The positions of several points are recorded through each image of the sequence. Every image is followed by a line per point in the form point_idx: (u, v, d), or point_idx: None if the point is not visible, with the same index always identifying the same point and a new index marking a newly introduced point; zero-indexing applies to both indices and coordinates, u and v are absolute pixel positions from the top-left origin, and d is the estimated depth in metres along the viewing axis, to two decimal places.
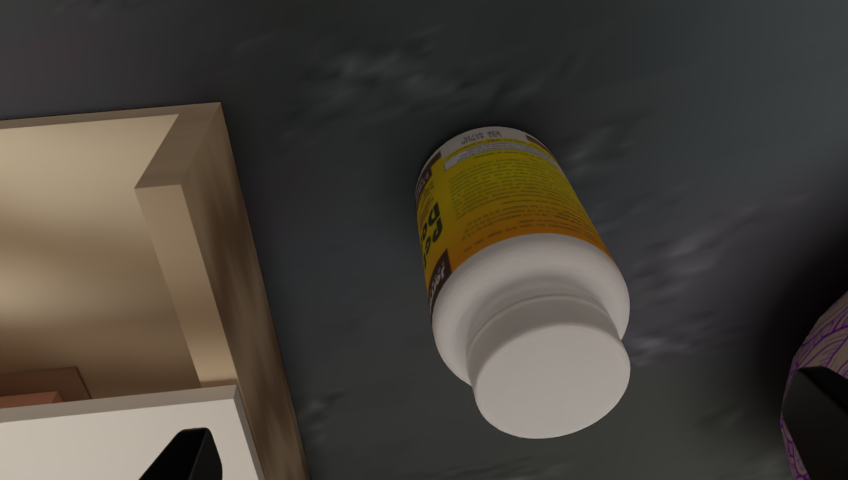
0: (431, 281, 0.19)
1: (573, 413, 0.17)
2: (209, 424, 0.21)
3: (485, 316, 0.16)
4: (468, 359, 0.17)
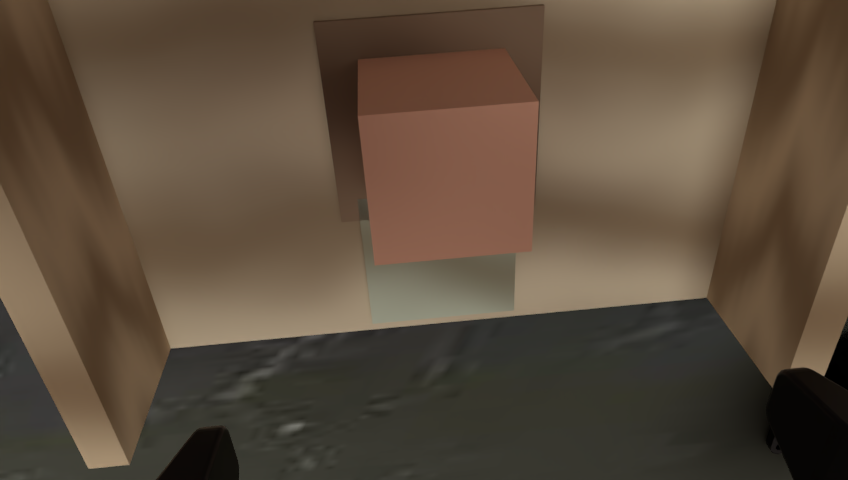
0: None
1: None
2: None
3: None
4: None
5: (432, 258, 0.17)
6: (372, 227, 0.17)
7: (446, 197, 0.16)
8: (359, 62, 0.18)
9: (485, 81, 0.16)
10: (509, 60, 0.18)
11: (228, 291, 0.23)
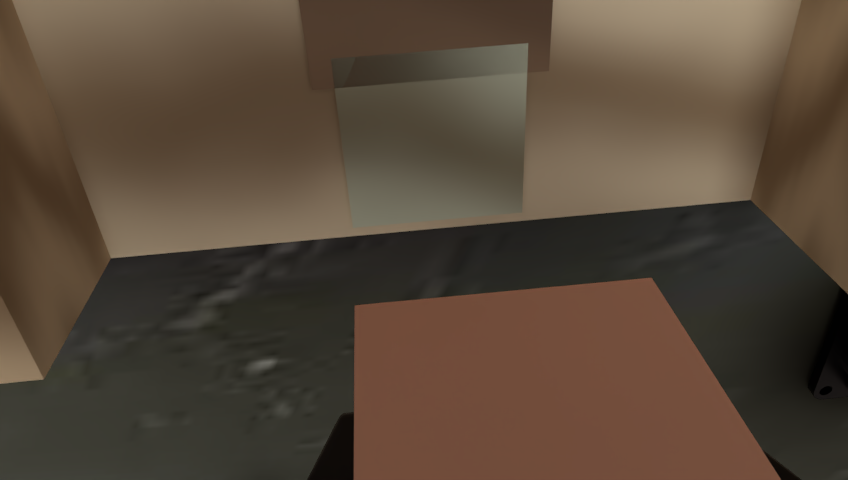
0: None
1: None
2: None
3: None
4: None
5: None
6: None
7: None
8: (357, 318, 0.09)
9: (654, 430, 0.07)
10: (678, 329, 0.08)
11: (177, 183, 0.19)
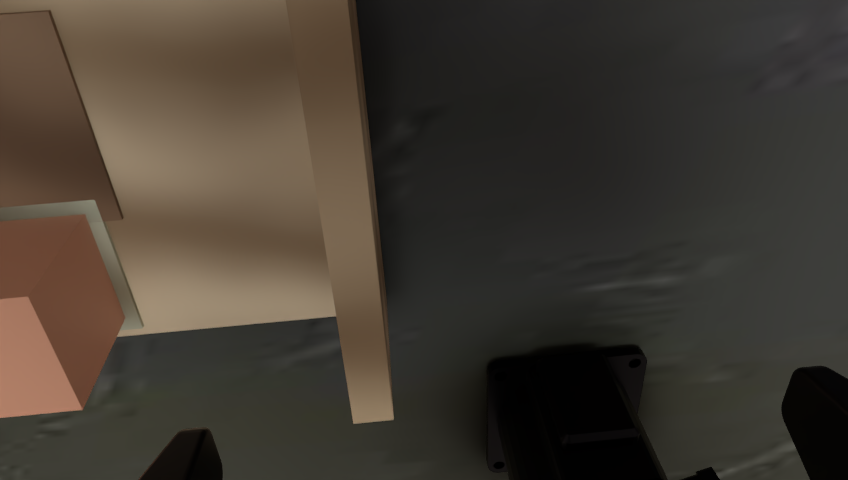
0: None
1: None
2: None
3: None
4: None
5: None
6: None
7: None
8: None
9: (15, 265, 0.18)
10: (69, 233, 0.19)
11: None
